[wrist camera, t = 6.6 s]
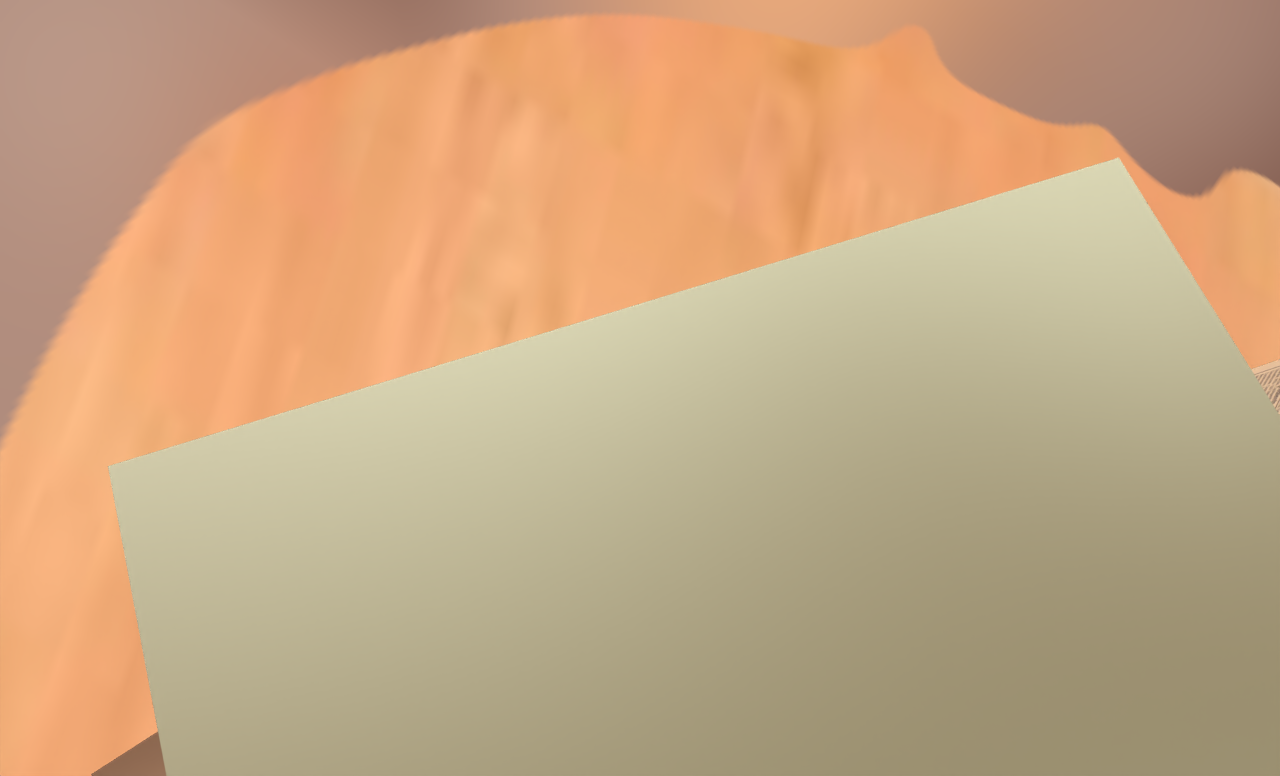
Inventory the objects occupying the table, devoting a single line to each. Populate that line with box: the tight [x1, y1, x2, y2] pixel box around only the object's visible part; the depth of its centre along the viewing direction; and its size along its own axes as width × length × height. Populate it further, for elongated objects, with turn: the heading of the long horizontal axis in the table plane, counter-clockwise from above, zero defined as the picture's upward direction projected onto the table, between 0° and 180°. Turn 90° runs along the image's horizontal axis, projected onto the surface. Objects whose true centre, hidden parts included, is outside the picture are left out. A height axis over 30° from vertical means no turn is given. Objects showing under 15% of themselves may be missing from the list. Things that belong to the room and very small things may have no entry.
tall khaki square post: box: [108, 158, 1280, 776], centre depth 9 cm, size 5×5×13 cm
